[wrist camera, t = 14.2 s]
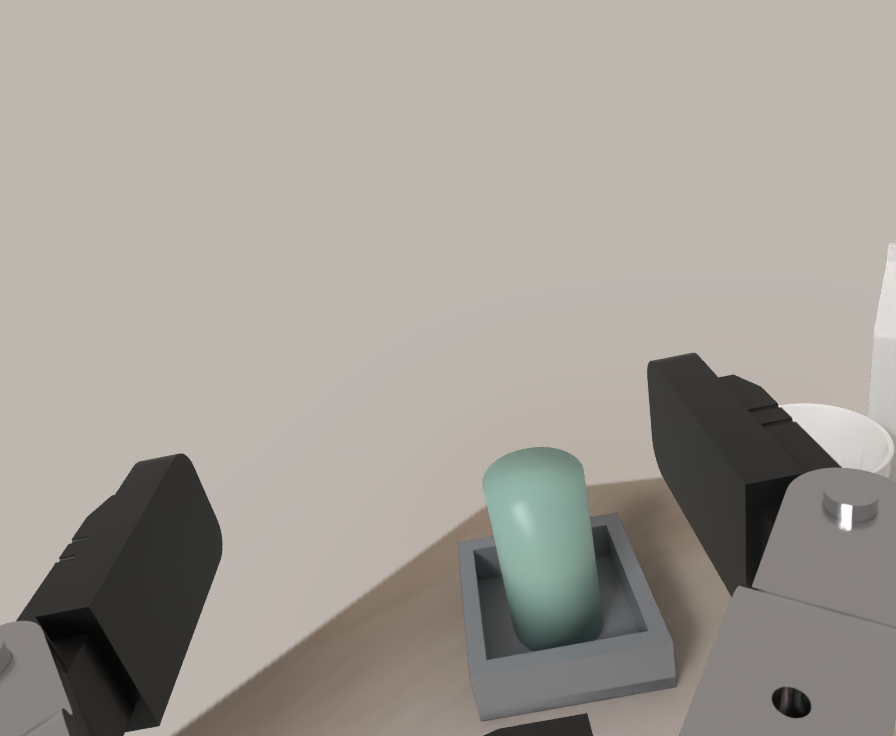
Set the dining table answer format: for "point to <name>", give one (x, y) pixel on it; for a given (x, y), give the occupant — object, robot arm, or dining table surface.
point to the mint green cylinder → (545, 546)
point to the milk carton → (885, 357)
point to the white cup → (846, 436)
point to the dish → (574, 666)
